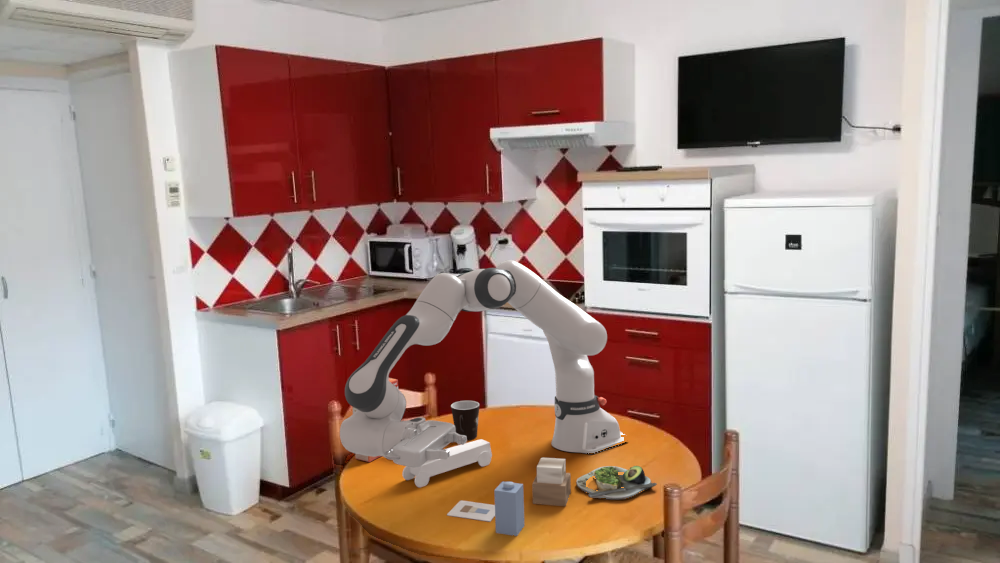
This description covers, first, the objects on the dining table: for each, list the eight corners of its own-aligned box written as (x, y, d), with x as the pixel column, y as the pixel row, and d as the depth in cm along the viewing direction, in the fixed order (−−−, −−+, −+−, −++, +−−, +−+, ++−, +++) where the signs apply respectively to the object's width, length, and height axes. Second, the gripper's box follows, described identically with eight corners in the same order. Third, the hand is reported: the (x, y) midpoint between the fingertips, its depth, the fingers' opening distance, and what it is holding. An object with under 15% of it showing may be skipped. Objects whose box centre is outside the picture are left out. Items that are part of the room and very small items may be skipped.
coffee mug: (464, 430, 234) (462, 399, 232) (486, 434, 229) (485, 403, 227) (440, 441, 225) (438, 409, 223) (462, 446, 220) (461, 414, 218)
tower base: (539, 489, 188) (538, 455, 187) (570, 492, 186) (570, 457, 185) (532, 503, 181) (531, 468, 179) (565, 506, 179) (564, 470, 177)
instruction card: (460, 501, 184) (460, 499, 184) (502, 506, 180) (502, 505, 180) (446, 515, 176) (446, 514, 176) (490, 521, 172) (489, 520, 172)
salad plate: (616, 513, 175) (615, 494, 174) (559, 491, 188) (559, 474, 187) (664, 487, 188) (664, 470, 187) (608, 468, 201) (607, 452, 200)
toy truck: (416, 489, 192) (414, 455, 190) (401, 481, 197) (400, 448, 196) (493, 464, 207) (492, 432, 205) (478, 456, 212) (477, 425, 211)
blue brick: (503, 522, 172) (502, 478, 170) (524, 525, 170) (523, 480, 168) (495, 532, 167) (494, 486, 165) (516, 536, 165) (515, 489, 164)
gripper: (379, 443, 165) (436, 450, 160) (422, 414, 184) (474, 420, 179) (381, 470, 166) (437, 478, 161) (423, 439, 185) (475, 445, 180)
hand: (457, 447), depth 170 cm, fingers open, 8 cm apart
